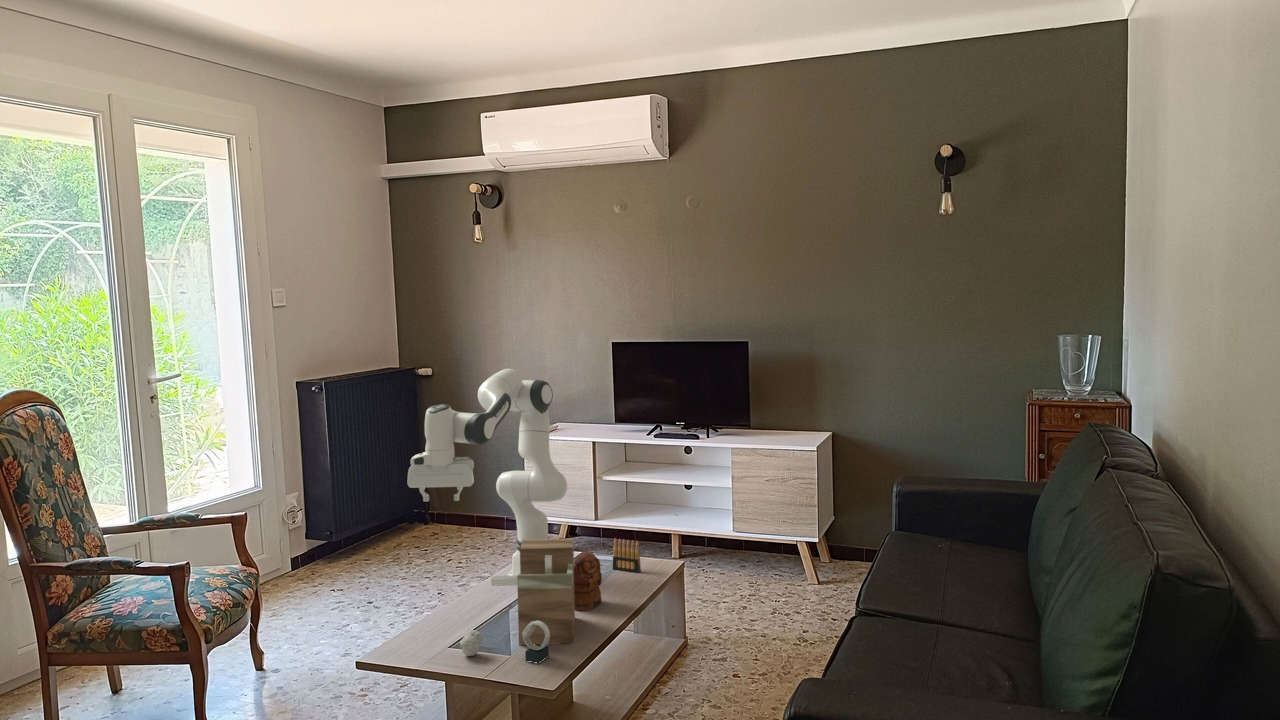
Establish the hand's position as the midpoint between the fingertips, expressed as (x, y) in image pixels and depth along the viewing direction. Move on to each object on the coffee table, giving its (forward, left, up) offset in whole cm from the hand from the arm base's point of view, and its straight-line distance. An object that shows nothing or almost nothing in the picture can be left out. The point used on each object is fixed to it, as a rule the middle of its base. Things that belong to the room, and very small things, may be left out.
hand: (441, 500), depth 276 cm
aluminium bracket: (+15, +26, -22) cm, 37 cm away
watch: (+30, +31, -39) cm, 58 cm away
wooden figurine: (-10, +45, -39) cm, 61 cm away
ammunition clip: (-44, +59, -39) cm, 83 cm away
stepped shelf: (+10, +33, -39) cm, 52 cm away
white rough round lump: (+26, +12, -39) cm, 49 cm away
